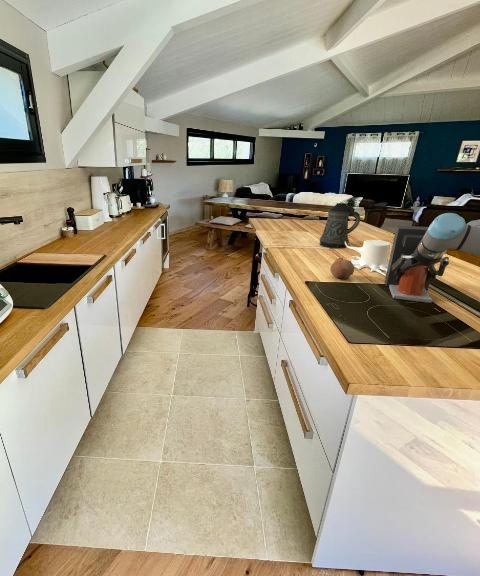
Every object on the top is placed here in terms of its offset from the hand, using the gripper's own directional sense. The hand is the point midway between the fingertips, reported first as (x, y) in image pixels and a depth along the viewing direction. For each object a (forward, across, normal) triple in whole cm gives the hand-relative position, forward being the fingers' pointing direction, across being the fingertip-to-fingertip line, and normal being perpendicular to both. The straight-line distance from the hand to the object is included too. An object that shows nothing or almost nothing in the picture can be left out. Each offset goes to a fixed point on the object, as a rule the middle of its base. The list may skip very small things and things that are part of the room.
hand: (410, 279), depth 121 cm
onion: (+9, -24, +2) cm, 26 cm away
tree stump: (+28, -10, +20) cm, 36 cm away
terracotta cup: (0, 0, -5) cm, 5 cm away
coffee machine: (+3, 0, -4) cm, 5 cm away
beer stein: (+53, -27, +46) cm, 75 cm away
